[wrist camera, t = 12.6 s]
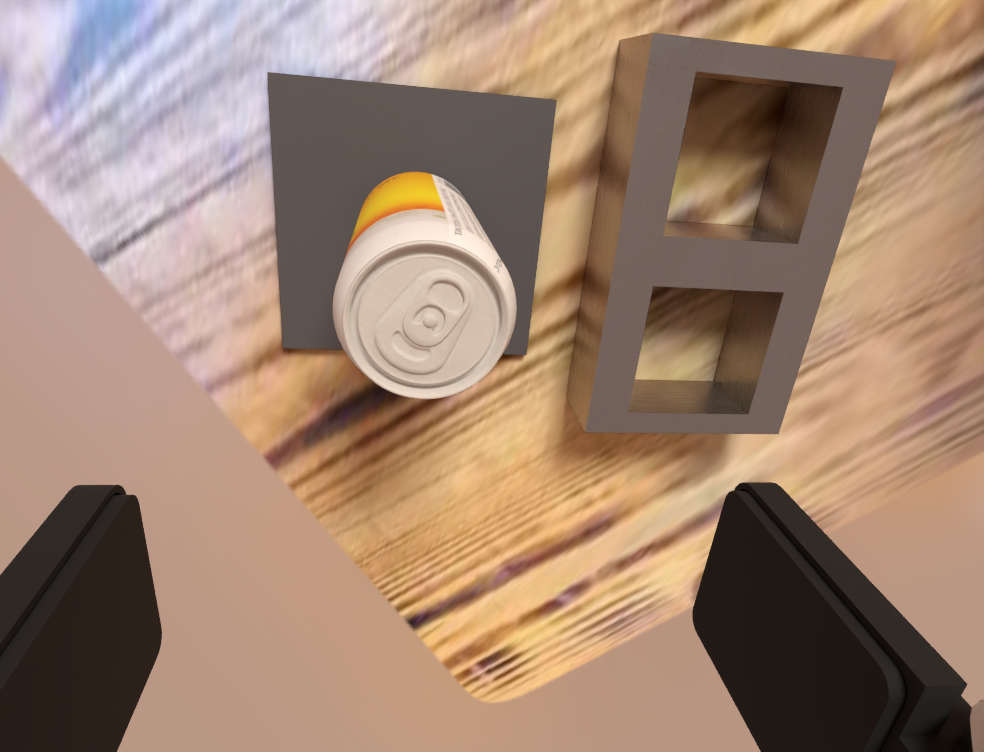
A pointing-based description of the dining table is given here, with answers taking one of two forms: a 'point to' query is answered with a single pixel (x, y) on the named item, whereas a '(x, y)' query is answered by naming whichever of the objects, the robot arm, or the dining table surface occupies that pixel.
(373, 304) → the beer can
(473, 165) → the mat
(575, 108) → the dining table surface
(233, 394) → the dining table surface
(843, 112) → the cinder block
